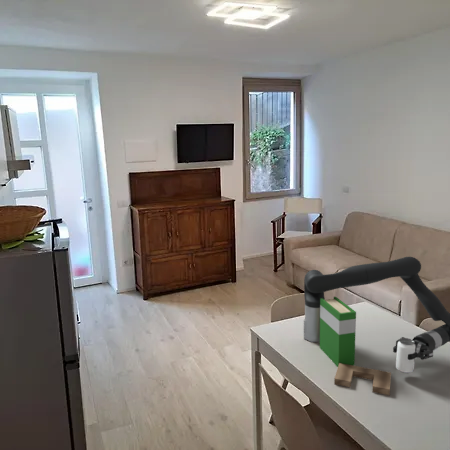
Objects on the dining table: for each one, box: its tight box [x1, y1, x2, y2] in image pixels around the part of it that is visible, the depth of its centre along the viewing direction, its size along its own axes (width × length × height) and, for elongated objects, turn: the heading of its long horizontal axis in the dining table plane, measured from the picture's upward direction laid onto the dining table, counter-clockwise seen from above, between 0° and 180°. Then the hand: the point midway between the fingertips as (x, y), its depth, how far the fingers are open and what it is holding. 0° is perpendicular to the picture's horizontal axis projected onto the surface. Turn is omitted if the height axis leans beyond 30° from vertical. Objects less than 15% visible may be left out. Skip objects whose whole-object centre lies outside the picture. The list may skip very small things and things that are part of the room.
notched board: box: [333, 363, 392, 396], centre depth 160 cm, size 20×12×2 cm, turn 66°
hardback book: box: [319, 296, 357, 368], centre depth 177 cm, size 18×7×24 cm, turn 13°
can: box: [395, 337, 416, 374], centre depth 160 cm, size 6×6×12 cm
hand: (401, 353), depth 158 cm, fingers closed on can, 6 cm apart
